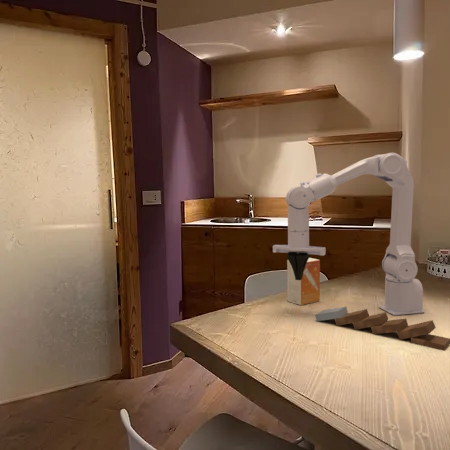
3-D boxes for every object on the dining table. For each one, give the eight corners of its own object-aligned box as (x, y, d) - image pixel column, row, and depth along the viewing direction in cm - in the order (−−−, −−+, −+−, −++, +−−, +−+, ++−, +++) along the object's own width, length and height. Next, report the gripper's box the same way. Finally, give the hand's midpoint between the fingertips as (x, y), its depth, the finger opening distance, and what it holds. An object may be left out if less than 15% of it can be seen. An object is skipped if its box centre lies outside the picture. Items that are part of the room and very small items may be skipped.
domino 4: (407, 333, 103) (435, 327, 99) (399, 339, 100) (429, 333, 95) (404, 326, 104) (432, 320, 99) (396, 332, 100) (425, 325, 96)
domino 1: (345, 321, 114) (369, 315, 109) (337, 326, 110) (361, 320, 106) (343, 314, 114) (366, 309, 110) (334, 319, 111) (358, 313, 106)
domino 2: (362, 324, 111) (388, 319, 106) (355, 329, 107) (381, 324, 103) (360, 317, 111) (385, 312, 107) (352, 322, 107) (378, 317, 103)
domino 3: (380, 328, 108) (408, 325, 103) (372, 334, 104) (401, 331, 99) (378, 321, 108) (406, 318, 103) (370, 326, 104) (398, 323, 100)
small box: (301, 305, 128) (300, 262, 127) (286, 301, 133) (286, 259, 132) (320, 301, 133) (320, 259, 131) (306, 296, 138) (305, 256, 136)
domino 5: (417, 339, 102) (450, 346, 97) (410, 345, 98) (444, 353, 93) (418, 331, 101) (450, 338, 97) (410, 337, 98) (444, 345, 93)
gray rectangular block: (325, 316, 118) (348, 313, 113) (316, 321, 114) (339, 318, 110) (323, 310, 118) (346, 306, 113) (314, 314, 114) (337, 311, 110)
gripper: (328, 229, 118) (328, 278, 120) (278, 228, 125) (279, 274, 126) (321, 233, 112) (321, 284, 113) (269, 231, 119) (270, 279, 120)
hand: (298, 279), depth 120 cm, fingers closed
